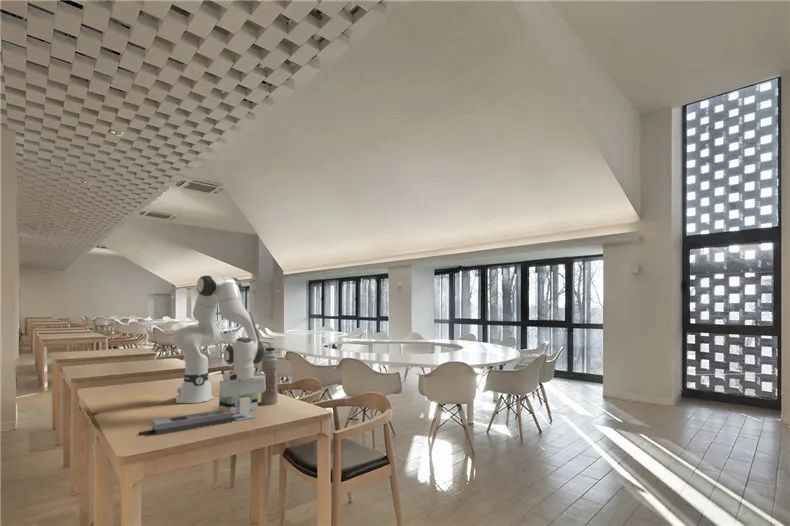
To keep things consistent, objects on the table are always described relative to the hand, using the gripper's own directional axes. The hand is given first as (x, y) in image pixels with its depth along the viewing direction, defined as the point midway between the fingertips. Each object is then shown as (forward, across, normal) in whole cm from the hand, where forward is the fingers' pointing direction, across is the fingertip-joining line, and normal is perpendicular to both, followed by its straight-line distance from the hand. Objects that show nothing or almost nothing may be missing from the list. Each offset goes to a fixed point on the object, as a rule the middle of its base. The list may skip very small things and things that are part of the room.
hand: (243, 404), depth 205 cm
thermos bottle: (+6, -21, -20) cm, 30 cm away
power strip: (+6, +24, 0) cm, 24 cm away
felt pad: (+6, 0, 0) cm, 6 cm away
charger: (+4, 0, 0) cm, 4 cm away
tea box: (+6, -3, -14) cm, 16 cm away
